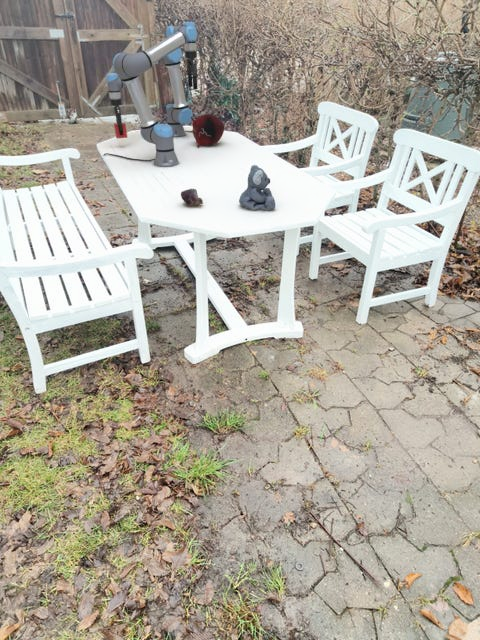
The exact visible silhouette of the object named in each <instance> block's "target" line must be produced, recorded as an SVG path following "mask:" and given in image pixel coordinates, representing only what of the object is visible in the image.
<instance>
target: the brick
mask: <svg viewBox="0 0 480 640" xmlns="http://www.w3.org/2000/svg"><path fill="white" fill-rule="evenodd" d="M117 125H118V123H117V122H116V123H114V122H113V128H114V135H115V138H116V139H128V133H127V125H126V122H122V128H123V134H124V135H120V134H119V128H118V126H117Z"/></svg>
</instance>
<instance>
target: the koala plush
mask: <svg viewBox="0 0 480 640" xmlns="http://www.w3.org/2000/svg"><path fill="white" fill-rule="evenodd" d="M270 183H271V178H269V176H268V175H267V173H266V172H265V170H264V169H263V168H261V167H259V165H257V164H253V165H250V170H249V173H248V176H247V188H246V189H245V190H244V191H243V192H242V193H241V194H240V197H239V199H238V203H239V204H240V206H241V207H242V208H246V209H247V210H252V211H255V210H261V211H272V210H274V209H275V208H276V200H275V198H274V196H273V194H272V191H271V188H270V187H268V186H269V185H270Z"/></svg>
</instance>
